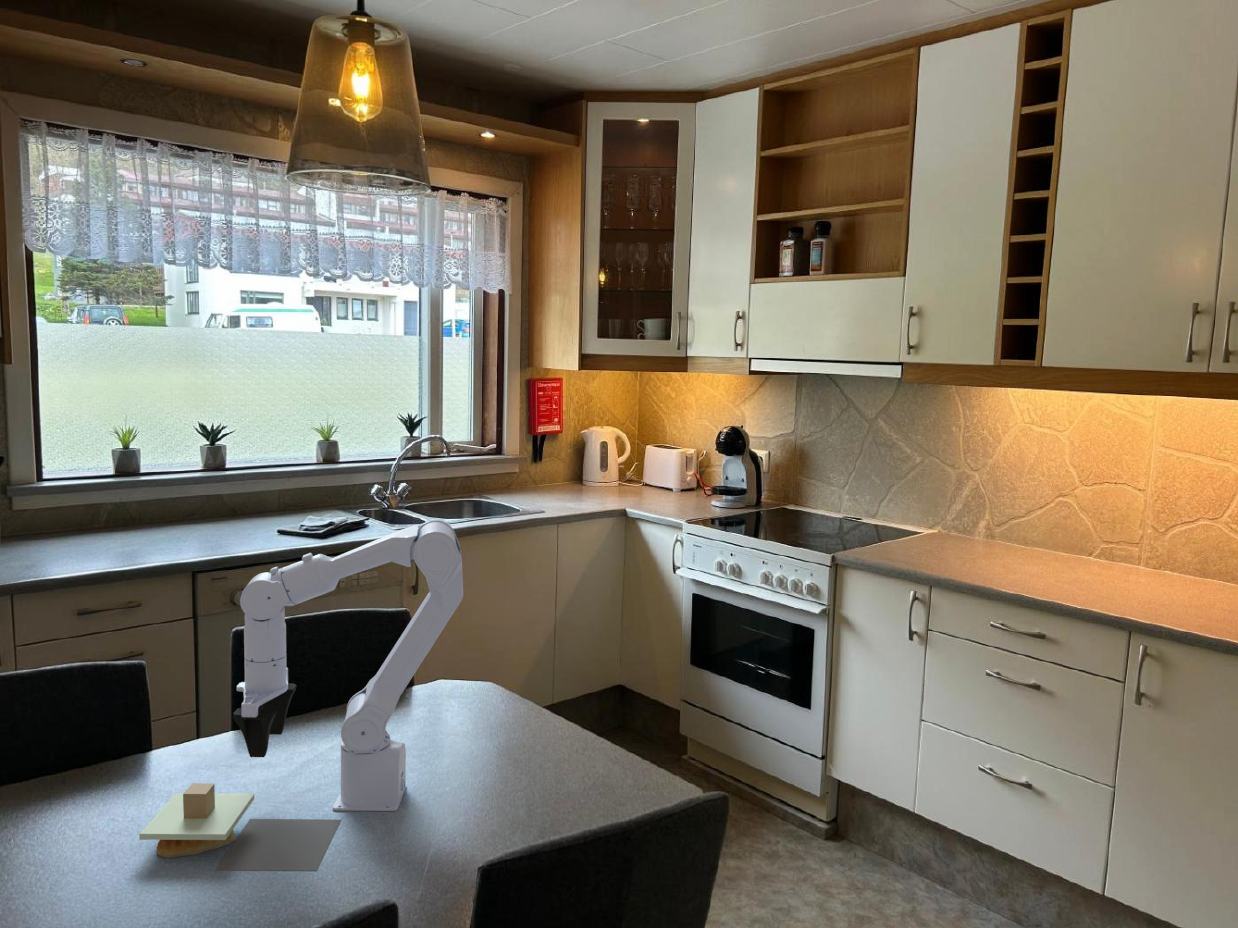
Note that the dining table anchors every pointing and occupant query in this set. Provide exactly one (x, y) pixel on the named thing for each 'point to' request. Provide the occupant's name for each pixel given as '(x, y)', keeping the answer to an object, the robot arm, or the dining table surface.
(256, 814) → the dining table surface
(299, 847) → the mat
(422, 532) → the robot arm
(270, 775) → the dining table surface
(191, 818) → the cover
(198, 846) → the pastry
